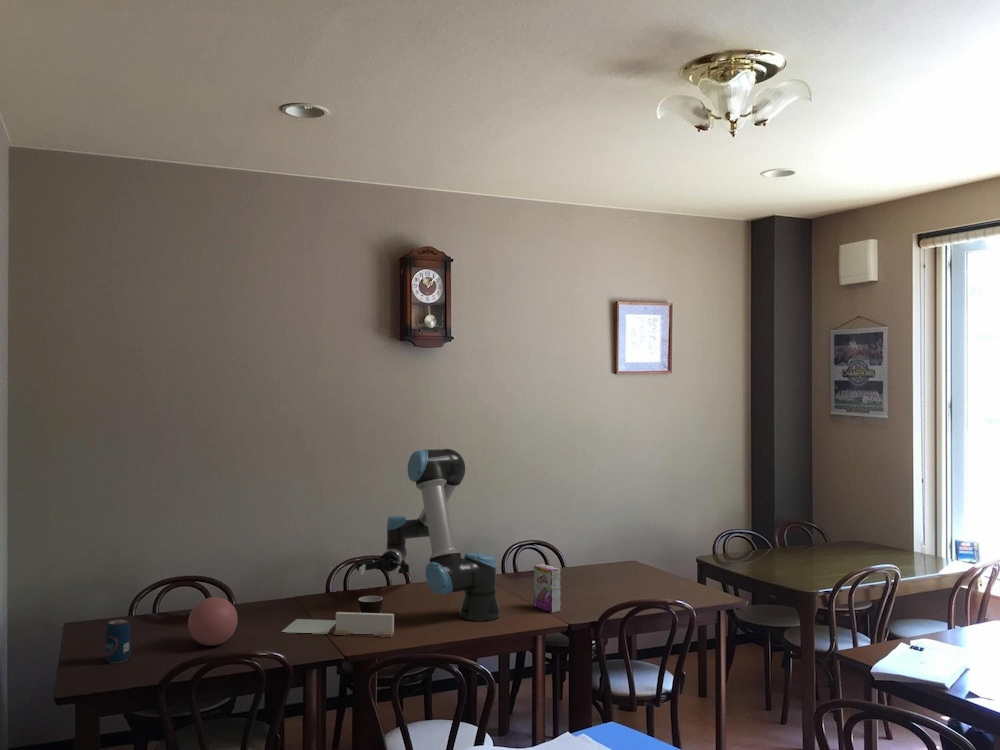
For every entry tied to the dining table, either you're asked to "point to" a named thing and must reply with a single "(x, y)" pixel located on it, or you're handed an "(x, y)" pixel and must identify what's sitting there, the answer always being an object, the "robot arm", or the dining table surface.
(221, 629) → the balloon
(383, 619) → the white rectangular block
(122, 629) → the soda can
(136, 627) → the dining table surface
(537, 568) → the candy bar box
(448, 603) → the dining table surface
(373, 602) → the coffee mug
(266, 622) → the dining table surface
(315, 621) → the mat
